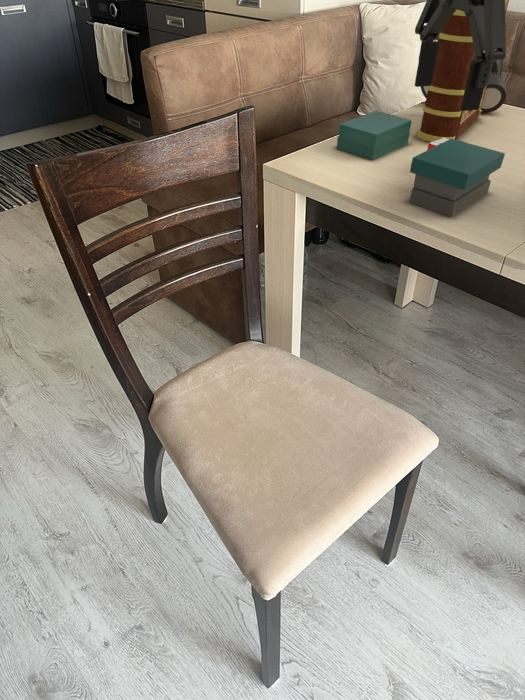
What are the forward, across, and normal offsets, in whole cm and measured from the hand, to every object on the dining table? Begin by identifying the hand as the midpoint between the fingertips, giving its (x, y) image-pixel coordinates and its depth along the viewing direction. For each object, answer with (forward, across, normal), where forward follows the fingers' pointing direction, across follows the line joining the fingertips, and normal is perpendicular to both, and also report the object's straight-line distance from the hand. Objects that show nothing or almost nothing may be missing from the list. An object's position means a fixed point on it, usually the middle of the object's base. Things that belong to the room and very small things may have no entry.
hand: (444, 97), depth 87 cm
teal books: (+16, -24, +2) cm, 28 cm away
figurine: (+10, -35, +33) cm, 49 cm away
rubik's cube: (+16, -9, +9) cm, 20 cm away
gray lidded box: (+16, +3, +3) cm, 17 cm away
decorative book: (+16, -29, +23) cm, 41 cm away
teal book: (+11, +3, +3) cm, 12 cm away
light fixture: (+17, -46, +38) cm, 62 cm away
